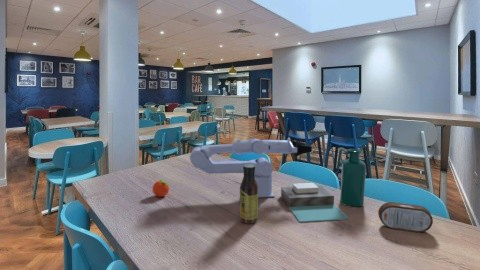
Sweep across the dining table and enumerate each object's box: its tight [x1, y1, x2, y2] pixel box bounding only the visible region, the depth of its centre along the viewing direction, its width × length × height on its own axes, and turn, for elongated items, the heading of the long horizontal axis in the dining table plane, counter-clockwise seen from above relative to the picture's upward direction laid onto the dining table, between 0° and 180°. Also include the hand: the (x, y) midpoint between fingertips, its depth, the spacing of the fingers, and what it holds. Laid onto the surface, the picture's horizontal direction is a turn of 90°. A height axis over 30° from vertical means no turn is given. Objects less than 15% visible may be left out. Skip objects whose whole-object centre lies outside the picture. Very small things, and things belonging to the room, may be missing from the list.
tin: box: [377, 201, 434, 233], centre depth 86 cm, size 15×3×8 cm, turn 70°
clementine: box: [152, 179, 170, 197], centre depth 116 cm, size 8×7×7 cm
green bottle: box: [339, 146, 367, 208], centre depth 107 cm, size 10×8×22 cm
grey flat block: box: [280, 185, 335, 208], centre depth 110 cm, size 18×12×4 cm, turn 96°
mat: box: [288, 204, 350, 223], centre depth 99 cm, size 18×12×1 cm, turn 96°
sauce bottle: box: [239, 164, 259, 224], centre depth 92 cm, size 7×6×20 cm
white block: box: [292, 182, 319, 193], centre depth 111 cm, size 9×6×2 cm, turn 96°
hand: (308, 147), depth 117 cm, fingers open, 7 cm apart
